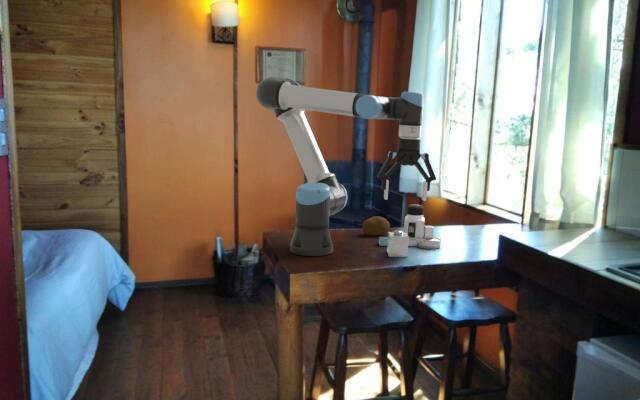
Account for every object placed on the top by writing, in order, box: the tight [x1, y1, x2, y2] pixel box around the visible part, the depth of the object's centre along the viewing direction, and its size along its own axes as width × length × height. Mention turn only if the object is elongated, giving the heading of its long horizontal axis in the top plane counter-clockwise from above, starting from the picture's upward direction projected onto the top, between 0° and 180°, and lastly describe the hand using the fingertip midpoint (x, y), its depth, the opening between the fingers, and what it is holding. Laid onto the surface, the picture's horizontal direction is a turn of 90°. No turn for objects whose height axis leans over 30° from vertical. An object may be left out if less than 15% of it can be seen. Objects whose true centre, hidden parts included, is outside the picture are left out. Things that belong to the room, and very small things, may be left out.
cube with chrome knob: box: [386, 229, 409, 258], centre depth 180 cm, size 6×6×8 cm
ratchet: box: [378, 225, 441, 250], centre depth 193 cm, size 22×9×8 cm, turn 89°
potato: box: [362, 215, 391, 236], centre depth 208 cm, size 8×12×8 cm, turn 122°
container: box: [403, 204, 426, 239], centre depth 206 cm, size 8×8×13 cm
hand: (404, 199), depth 179 cm, fingers open, 13 cm apart
